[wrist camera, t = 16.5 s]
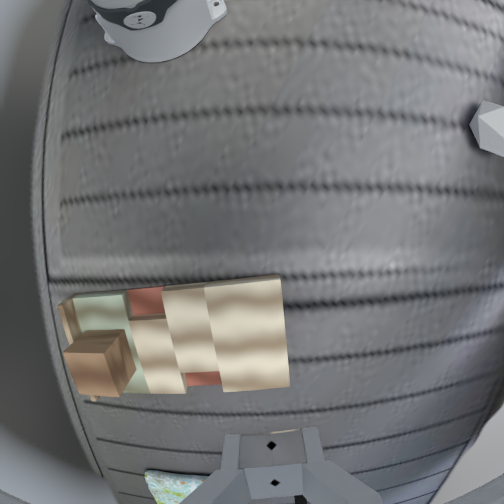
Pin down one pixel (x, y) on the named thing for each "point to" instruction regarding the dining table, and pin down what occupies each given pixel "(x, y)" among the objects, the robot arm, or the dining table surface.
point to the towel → (171, 485)
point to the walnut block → (101, 362)
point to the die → (489, 127)
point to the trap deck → (192, 333)
